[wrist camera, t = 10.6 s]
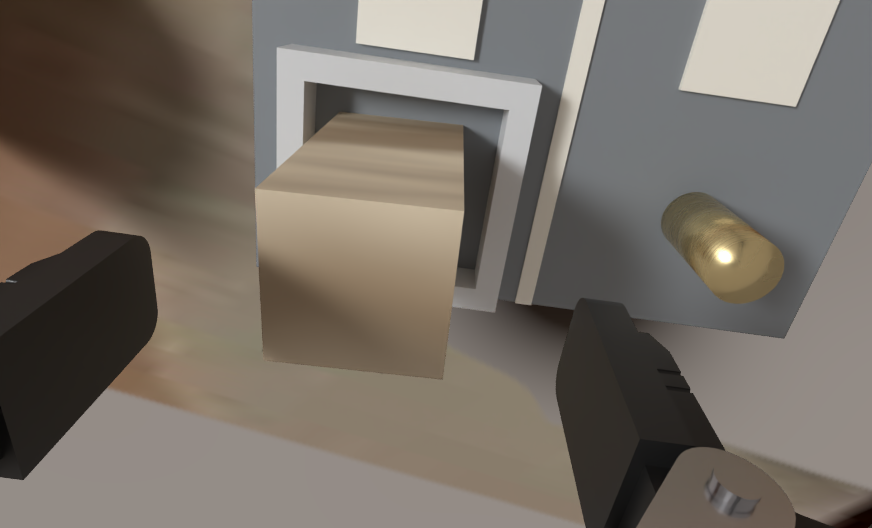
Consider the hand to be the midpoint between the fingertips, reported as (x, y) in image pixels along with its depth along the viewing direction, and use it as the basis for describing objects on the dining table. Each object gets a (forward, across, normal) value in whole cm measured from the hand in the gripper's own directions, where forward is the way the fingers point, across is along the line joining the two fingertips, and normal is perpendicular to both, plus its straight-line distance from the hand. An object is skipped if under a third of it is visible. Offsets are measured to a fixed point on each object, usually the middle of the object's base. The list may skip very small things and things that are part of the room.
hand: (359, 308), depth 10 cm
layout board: (+10, -5, -2) cm, 11 cm away
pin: (+9, -10, 0) cm, 13 cm away
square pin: (+9, 0, 0) cm, 9 cm away
